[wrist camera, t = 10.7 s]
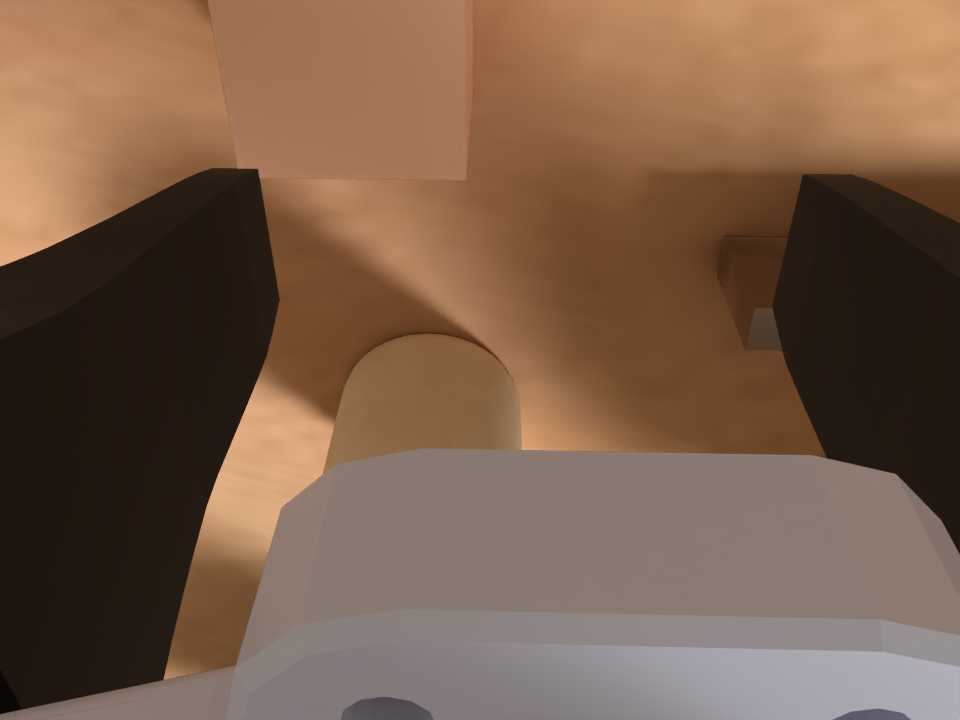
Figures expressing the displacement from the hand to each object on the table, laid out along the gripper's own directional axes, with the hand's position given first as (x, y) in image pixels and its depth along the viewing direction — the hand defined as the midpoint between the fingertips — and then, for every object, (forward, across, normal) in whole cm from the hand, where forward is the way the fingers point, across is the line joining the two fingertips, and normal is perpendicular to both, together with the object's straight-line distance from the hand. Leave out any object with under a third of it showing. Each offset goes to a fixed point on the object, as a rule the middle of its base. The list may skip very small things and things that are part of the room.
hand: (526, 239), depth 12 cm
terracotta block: (+10, +3, -1) cm, 11 cm away
